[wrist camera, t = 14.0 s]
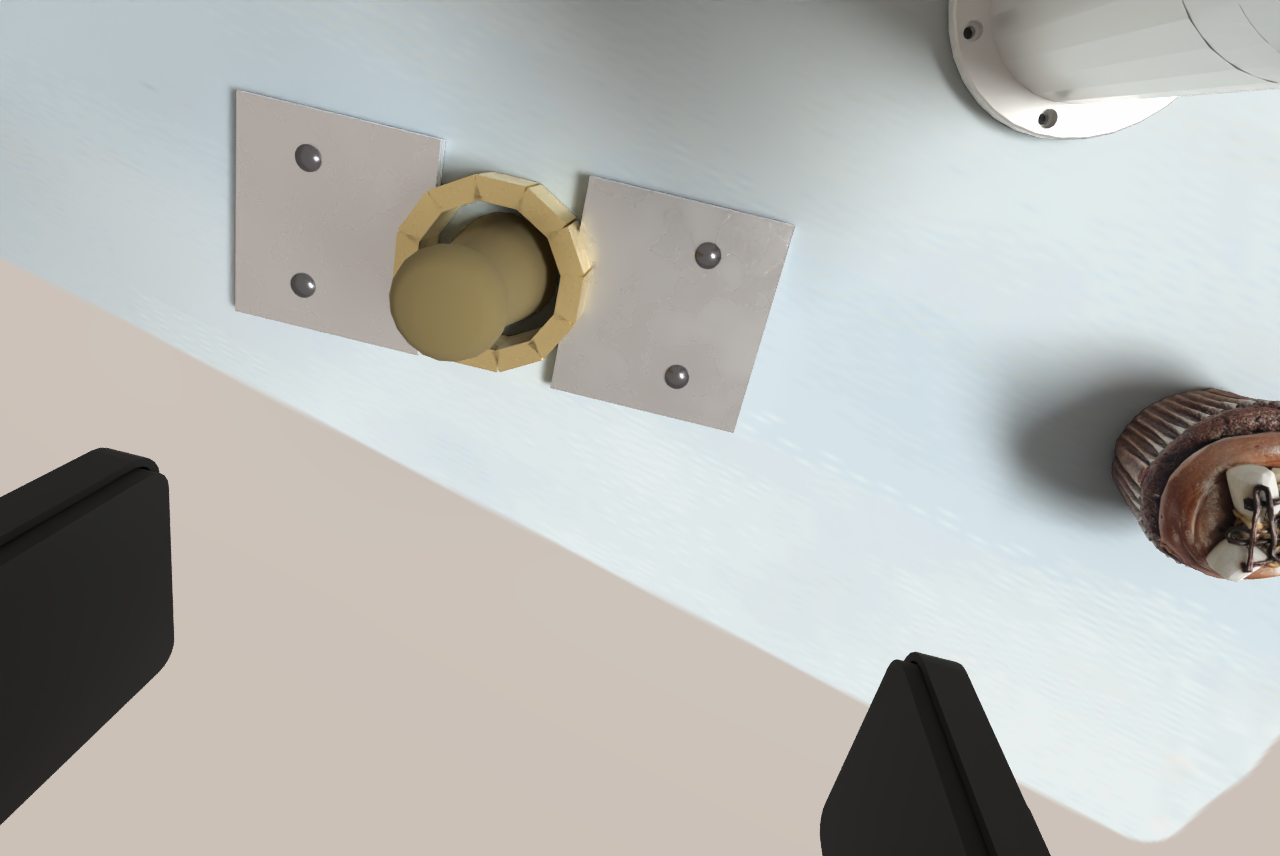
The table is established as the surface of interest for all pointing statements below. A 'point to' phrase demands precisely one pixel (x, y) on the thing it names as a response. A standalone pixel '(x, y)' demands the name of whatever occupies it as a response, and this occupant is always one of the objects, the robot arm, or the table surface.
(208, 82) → the table surface
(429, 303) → the cork
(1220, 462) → the cupcake
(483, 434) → the table surface
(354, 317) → the mounting plate with ring
